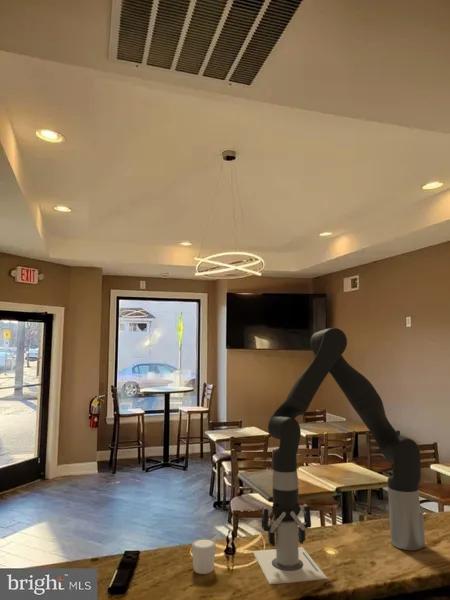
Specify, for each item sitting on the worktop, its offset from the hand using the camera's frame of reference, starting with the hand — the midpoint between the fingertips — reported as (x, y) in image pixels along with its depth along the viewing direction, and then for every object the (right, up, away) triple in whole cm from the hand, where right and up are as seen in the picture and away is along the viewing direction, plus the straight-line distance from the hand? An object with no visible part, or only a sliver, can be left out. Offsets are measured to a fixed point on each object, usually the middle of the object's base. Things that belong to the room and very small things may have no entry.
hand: (286, 544), depth 129 cm
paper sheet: (0, -6, -1) cm, 6 cm away
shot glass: (-24, -6, -3) cm, 25 cm away
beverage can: (0, -5, -1) cm, 5 cm away
